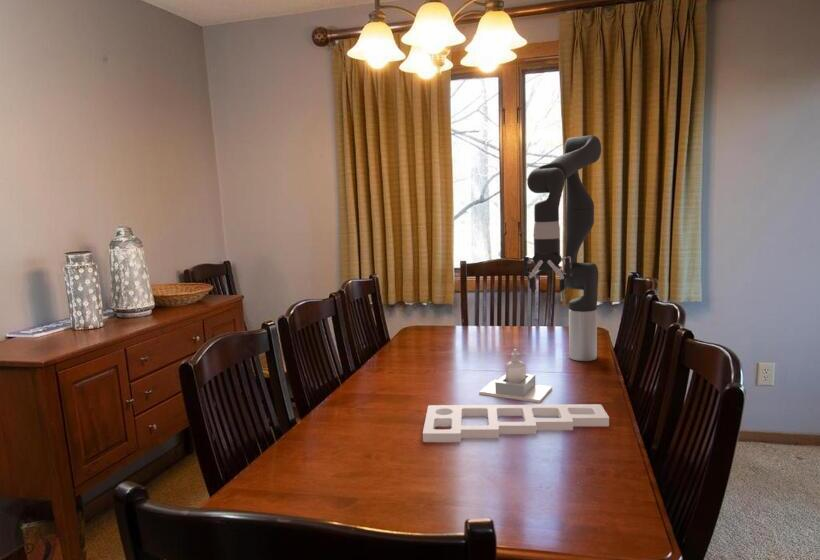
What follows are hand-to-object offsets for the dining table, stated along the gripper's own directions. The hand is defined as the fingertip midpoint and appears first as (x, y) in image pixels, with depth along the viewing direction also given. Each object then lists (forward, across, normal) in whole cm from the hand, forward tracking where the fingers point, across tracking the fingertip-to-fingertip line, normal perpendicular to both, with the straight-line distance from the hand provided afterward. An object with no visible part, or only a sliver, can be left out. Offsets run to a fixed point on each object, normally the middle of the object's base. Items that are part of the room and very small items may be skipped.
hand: (547, 290), depth 165 cm
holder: (+29, -2, +37) cm, 47 cm away
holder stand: (+28, +6, +13) cm, 32 cm away
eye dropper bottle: (+28, +6, +13) cm, 31 cm away
